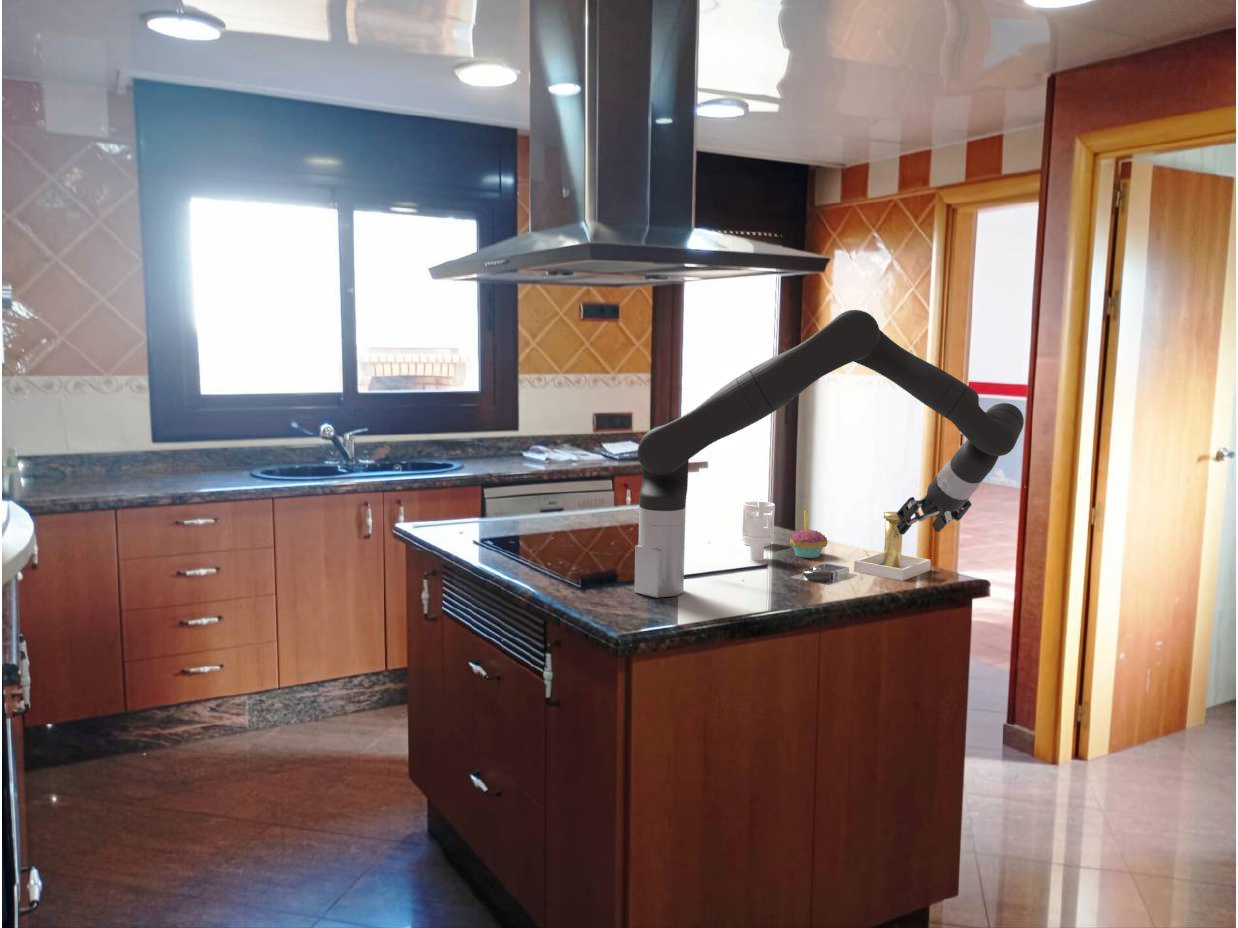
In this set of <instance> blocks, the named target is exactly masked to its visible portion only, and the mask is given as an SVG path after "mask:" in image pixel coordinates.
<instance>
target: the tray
mask: <svg viewBox="0 0 1238 928" xmlns="http://www.w3.org/2000/svg"><path fill="white" fill-rule="evenodd" d="M931 562H932V561H931V559H928V558H924V557H923V558H922V557H916V556H913V555H912V556H910V555H905V554H901V567H902V568H901V569H900V568H894V567H889V566H883V564H884V551H881V552H878V553H874V554H871V555H869V556H866V557H861V558H859V559H856V560H854V563H853V564H854V565H853V572H855V573H861V574H865V575H871V576H875V577H879V578H880V577H881V578H886V579H891V580H896V581H901V582H903V581H906V580H909V579H910V578H913V577H916V576H918V575H921V574H924V573H927V572H930V570H931Z"/></svg>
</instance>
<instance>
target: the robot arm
mask: <svg viewBox="0 0 1238 928" xmlns="http://www.w3.org/2000/svg"><path fill="white" fill-rule="evenodd" d="M853 362H854V363H856V364H858V365H861V366H863V367H866V368H867V369H870V370H872V371H874V372H875V373H878V374H880V375H881V376H883V377H884V378H887V379H888V380H889V381H890V382H892V383H894V384H896V385H897V386H898V387H900V388H902V390H904V391H905V392H907V393H908V394H910V395H911V396H913V398H915V399H917V400H918V401H919V402H920V403H922V404H924V405H925V406H927V407H928V408H930V409H931V410H932V411H935V412H936V413H938V414H939V415H941V416H942V417H943V418H945V419H947V420H948V421H950V422H951V423H952V424H953V425H954V426H955V427H956V428H957V430H958V431H959V432H960V433H961V434H962V435H963V436H964V437H965V439H967V440H966V441H965V442H964V443H963V444H962V445H961V446H960V447H959V449H958V450H957V451H956V452H955V454H954V455H953V456H952V457H951V458H950V459H949V460H948V461H947V462H946V463H945V464H944V465H943V466H942V468H941V469H940V471H939V472H938V473H937V474H936V476H934V478H933V479H932V480H931V481H930V483H929V485H928V487H927V491H926V495H925V496H923V497H922V498H921V499H920V500H916V499H915V497H914V496H911V497H909V498H908V499H907V500H906V501H905V503H904V504H903V505H902V506H901V507H900V509H898V511H896V512H897V513H896V514H897V516H898V518H899V520H900V522H899V523H898V525H897V529H898V531H899V533H900V534H901V535H902V536H903V535H905V534H906V533H907V532H908V530H909V529H910V528H911V527H912V525H913V524H915V523H917V522H924V521H925V520H927V519H929V518H933V517H936V518H935V519H934V521H933V522H932V524H931V525H932V528H933V530H934V532H935V533H940V532H941V531H942V530H943V529H944V528H945V527H946V526H947V524H949V523H952V522H953V520H955V522H956V521H960V520H961V519H962V518H963V517H964V516H965V514H966V513H967V512H968V511H969V509H970V508H971V506H972V503H971V501H970V498H971V497H972V496H973V494H974V493H975V492H976V491H977V490H978V488H979V487H980V485H981V483H982V482H983V481H984V479H986V477H987V476H988V475H989V474H990V472H991V471H992V470H993V468H994V467H995V465H996V463H997V461H998V459H999V457H1001V456H1005V455H1008V454H1009V453H1011V452H1012V450H1013V449H1014V448H1015V446H1016V444H1017V442H1018V439H1019V437H1020V435H1021V433H1022V431H1023V429H1024V423H1025V419H1024V415H1023V413H1022V411H1021V409H1019V407H1018V406H1016V405H1014V404H1011V403H1009V402H1008V403H1007V402H1001V403H998V404H994V405H992V406H991V407H990V408H988V409H987V410H986V411H984V410H983V409H982V407H980V397H979V394H978V392H977V391H976V390H974V389H973V388H972V387H971V386H969V385H967V384H966V383H964V382H963V381H961V380H959V379H958V378H956V377H955V376H953V375H952V374H950V373H949V372H947V371H945V370H943V369H942V368H939V367H938V366H936V365H934V364H932V363H931V362H928V361H926V360H924V359H922V358H920V357H918V356H916V355H915V354H913V353H912V352H909V351H908V350H907V349H905V348H904V347H902V346H900V345H899V344H897V343H896V342H895V341H894V340H892V339H891V338H890V337H889V336H888V335H886V333H884V332H883V330H881V329H880V326H879V324H878V322H877V320H876V319H875V318H874V316H872V314H870V313H868V312H866V311H864V310H859V309H850V310H846V311H844V312H842V313H840V314H839V315H837V316H836V317H835V318H833V319H832V320H831V321H830V322H829V323H828V324H826V325H825V326H823V327H822V328H821V329H819V330H818V331H817V332H815V333H814V334H813V335H811V336H810V337H809V338H807V339H805V340H804V341H803V342H801V343H800V344H798V345H796V346H794V347H793V348H790V349H788V350H785V351H784V352H782V353H779V354H777V355H776V356H772V357H771V358H769V359H767V360H764V361H763V362H761V363H759V364H758V365H756V366H754V367H752V368H750V369H749V370H747V371H746V372H744V373H742V374H740V375H738V376H737V377H736V378H734V379H733V380H731V381H730V382H728V383H727V384H725V385H724V386H722V387H721V388H720V389H718V390H716V392H715V393H713V394H712V395H711V396H709V397H708V398H707V399H706V400H705V401H703V402H702V403H700V405H698V406H697V407H696V408H694V409H693V410H691V411H689V412H687V413H685V414H684V415H682V416H681V417H678V418H676V419H675V420H672V421H670V422H668V423H665V424H663V425H658V426H656V427H653V428H652V429H651V430H648V432H646V433H645V434H644V435H643V436H642V437H641V439H640V441H639V444H638V447H637V459H638V462H639V464H640V465H641V467H642V478H641V485H640V489H639V490H640V491H639V499H638V501H639V503H638V507H639V508H638V511H639V512H638V544H636V545H635V547H634V549H635V550H634V551H635V552H634V593H635V594H636V593H637V594H641V595H644V596H649V597H653V598H657V599H659V598H664V597H665V598H667V597H675V596H679V595H682V594H683V593H684V582H685V581H684V580H685V579H684V578H685V549H686V546H685V545H686V544H685V542H686V541H685V539H686V509H687V507H686V505H687V504H686V503H687V495H688V483H689V464H690V463H689V461H690V459H691V458H693V457H694V456H695V455H697V454H698V453H700V452H701V451H702V450H704V449H705V448H707V447H708V446H710V445H712V444H714V443H715V442H717V441H720V440H721V439H724V438H726V437H729V436H731V435H733V434H735V433H738V432H739V431H741V430H743V429H745V428H747V427H749V426H751V425H753V424H755V423H757V422H759V421H761V420H762V419H764V418H765V417H766V418H767V416H769V415H771V414H772V413H775V411H777V410H779V409H781V408H782V407H784V406H785V405H786V404H788V403H789V402H791V401H793V399H795V398H796V397H798V396H799V395H800V394H802V392H804V391H805V390H806V389H807V388H808V387H809V386H811V385H812V384H814V383H815V382H816V381H818V380H819V379H821V378H823V377H824V376H826V375H828V374H830V373H832V372H833V371H836V370H838V369H840V368H842V367H844V366H846V365H848V364H850V363H853ZM919 509H921V511H922V513H923V514H922V515H921V513H920V511H919ZM913 516H914V517H913Z"/></svg>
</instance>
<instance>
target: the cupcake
mask: <svg viewBox="0 0 1238 928" xmlns="http://www.w3.org/2000/svg"><path fill="white" fill-rule="evenodd" d="M806 509H807V507H804V511H803V515H804V529H800V530H797V531H794V533H793V534H792V535H790V539H789V544H790V546H791V547H792V549H793V551H794V555H795V556H797V557H800V558H806V559H807V558H808V559H809V558H811V559H813V558H818V557H820V556H821V552H822V550H823V548H825V547H827V546H828V538H827V537H826V536H825V534H823V533H821V532H820V531H818V530H812V529H809V528H808V527H809V526H808V511H807V510H806Z"/></svg>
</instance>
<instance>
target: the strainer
mask: <svg viewBox="0 0 1238 928" xmlns="http://www.w3.org/2000/svg"><path fill="white" fill-rule="evenodd" d="M774 509H775V510H776V505H775V503H773V502H770V501H769V502H768V501H764V500H763V499H756V500H752V501H751V500H749V501H748V500H747V501H744V502H743V503H742V515H741V517H742V519H741V520H742V521H741V522H742V523H741V541H743V542H744V541H745V542H749V543H751V545H750V546H749V551H750V553H749V559H750V560H751V561H760V562H761V561H764V559H765V557H764V556H765V555H764V553H765V547H764V543H771V544H772V543H773V542H774V536H775V535H774V530H775V512H774ZM746 510H747V511H746ZM750 511H758V513H756V512H752V514H750ZM764 511H771V513H768V514H766V513H764ZM745 515H746V527H745ZM762 517H763V518H762ZM770 524H771V532H770ZM763 525H764V526H763Z"/></svg>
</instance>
